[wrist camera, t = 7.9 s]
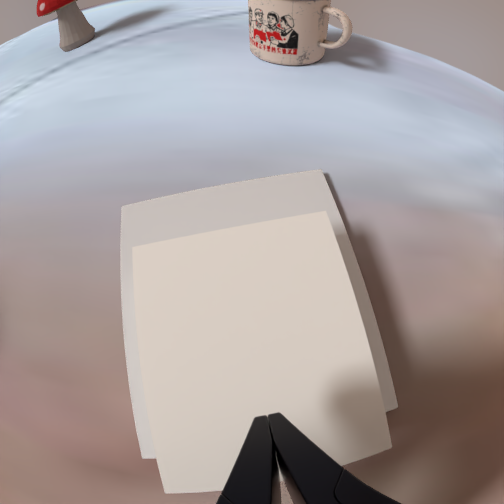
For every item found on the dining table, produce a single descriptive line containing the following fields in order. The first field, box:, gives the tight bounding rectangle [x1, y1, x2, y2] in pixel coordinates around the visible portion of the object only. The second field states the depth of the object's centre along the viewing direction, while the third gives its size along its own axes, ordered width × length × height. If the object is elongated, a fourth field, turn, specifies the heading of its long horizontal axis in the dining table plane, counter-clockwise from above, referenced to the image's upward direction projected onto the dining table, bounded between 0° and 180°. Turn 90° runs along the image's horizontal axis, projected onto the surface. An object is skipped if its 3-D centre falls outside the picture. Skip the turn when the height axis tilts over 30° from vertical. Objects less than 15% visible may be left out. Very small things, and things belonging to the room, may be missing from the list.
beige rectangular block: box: [132, 211, 392, 493], centre depth 14 cm, size 3×10×12 cm
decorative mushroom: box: [37, 0, 95, 52], centre depth 30 cm, size 10×9×15 cm
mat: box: [120, 169, 398, 458], centre depth 17 cm, size 16×14×1 cm
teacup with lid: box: [248, 0, 352, 65], centre depth 24 cm, size 12×9×12 cm
